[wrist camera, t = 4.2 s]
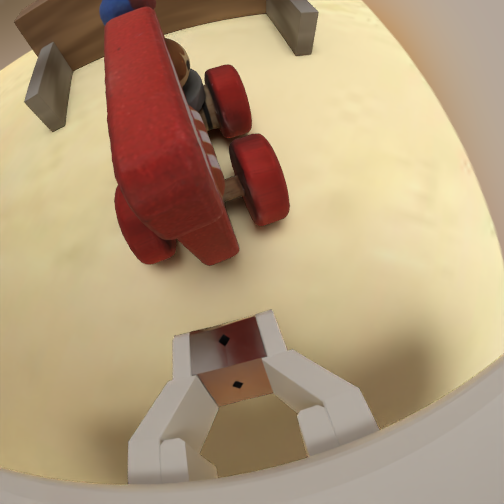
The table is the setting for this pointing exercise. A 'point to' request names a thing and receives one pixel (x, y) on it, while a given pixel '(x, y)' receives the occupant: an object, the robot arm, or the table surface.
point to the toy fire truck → (179, 143)
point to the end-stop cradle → (92, 38)
